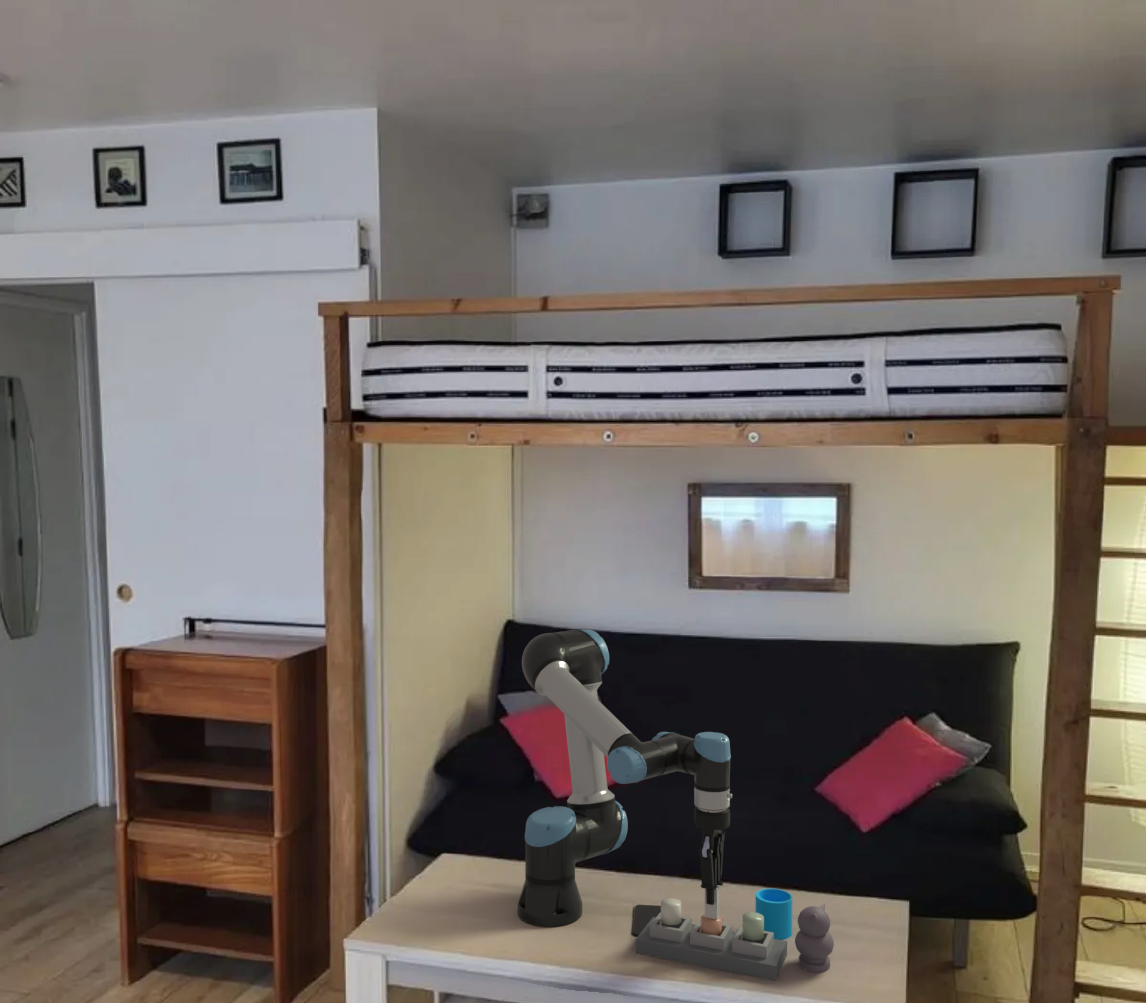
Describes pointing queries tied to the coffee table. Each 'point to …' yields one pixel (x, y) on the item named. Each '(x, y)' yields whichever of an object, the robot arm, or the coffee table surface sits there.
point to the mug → (775, 911)
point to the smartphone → (643, 917)
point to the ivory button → (671, 911)
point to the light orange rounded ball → (711, 925)
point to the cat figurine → (814, 939)
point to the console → (713, 948)
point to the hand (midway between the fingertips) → (711, 917)
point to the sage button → (753, 926)
